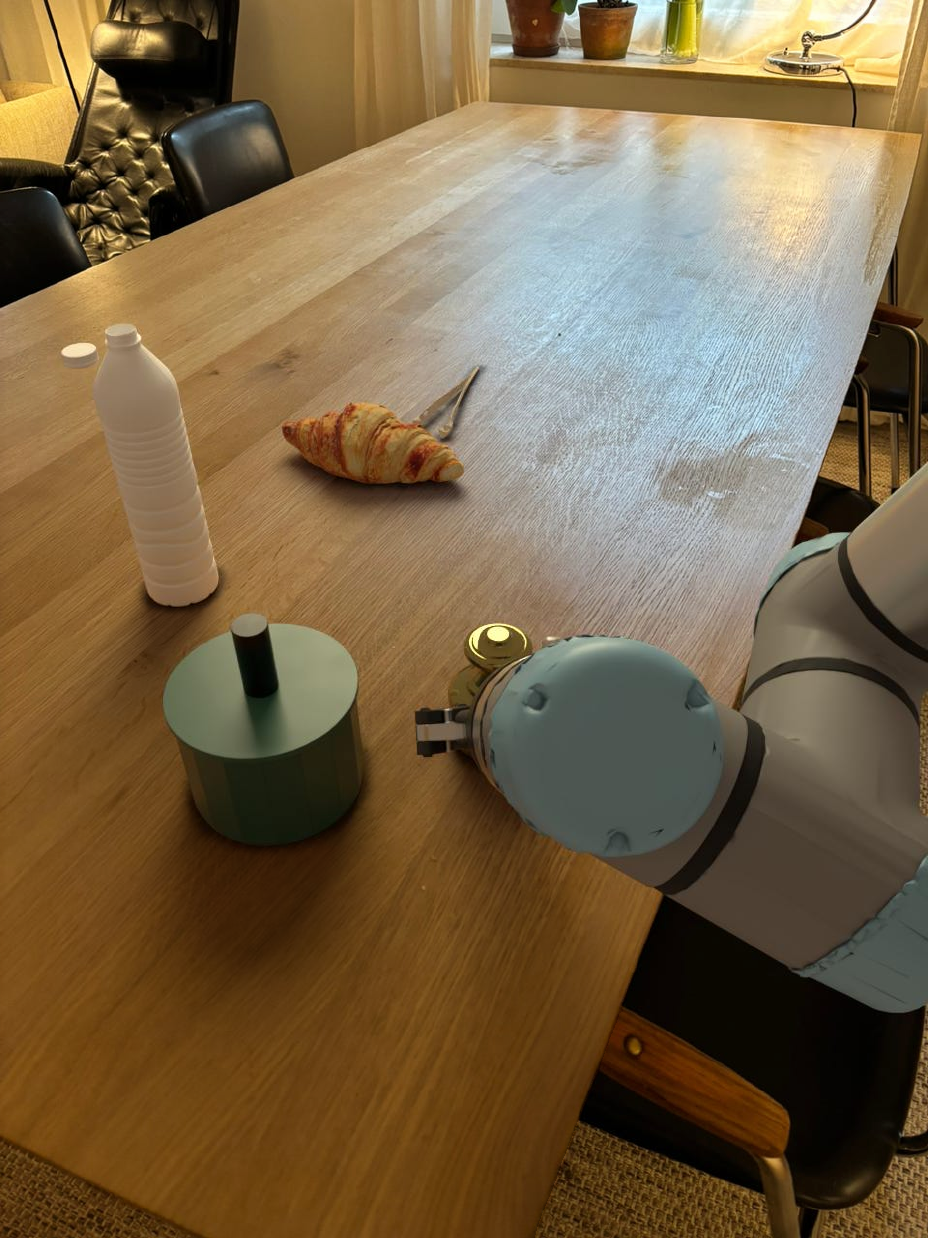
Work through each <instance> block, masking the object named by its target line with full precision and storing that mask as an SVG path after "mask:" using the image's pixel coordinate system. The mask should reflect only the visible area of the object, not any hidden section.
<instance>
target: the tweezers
mask: <svg viewBox="0 0 928 1238" xmlns="http://www.w3.org/2000/svg"><path fill="white" fill-rule="evenodd" d="M479 369H480V366H476V367H475V368H474V369H473V371H471V372H470V373H469V374H468V375H467V376H466V377H465V378H463V379H462V380H461V381H460V382H458V383H457V384H456V385H455V386H453V387H452V388H450V389H449V390H448V391H447V392H445V393H444V394H442V395H441V396H440V397H438V398H436V399H435V400H433V401H432V402H431V403H430V404H429V405H428V406H426V408H425V409H424V410H422V412H420V414H419V415H417V416H416V417H415V418H414V419H413V420H412V424H422V425H423V424H424V423H425V422H426V421H427V420H428V419H429V418H431V417H433V415H434V414H436V413H437V411H438V410H439V409H441V408H442V407H443V406H444V405H445V404H447V403H449V402H450V401H451V400H452V399H454V398H455V397H456V396H457V395H459V397H458V399H457V401H456V404H455V405H454V407H453V409H452V412H451V413H450V414H451V415H450V416H449V421H448V423H446V424H444V426H443V427H439V428H437V431H438V433H439V434H438V435H439V438H441V439H444V438H445V437H446V436H448V434H449V433H450V432H451V431H452V429H453V427H454V419H455V416H456V413H457V410H458V408H459V406H460V404H461V401H462V399H463V397H464V395H465V393H466V391H467V389H468V387H469V385H470V383H472V380H473V379H474V377H475V375H476V374H477V372H478V370H479ZM426 412H427V413H426ZM425 413H426V414H425ZM424 414H425V415H424Z"/></svg>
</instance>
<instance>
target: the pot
mask: <svg viewBox="0 0 928 1238" xmlns="http://www.w3.org/2000/svg"><path fill="white" fill-rule="evenodd" d="M357 699H358V698H357ZM357 699H356V702H355V704H354V707H353V709H352V711H351V713H350V714H349V716H348V717H347V718H346V720H345V721H344V722H343V723H342V725H341V726H340V727H339V728H338V729H337V730H336V731H335V732H333V733H332V734H331V735H330V736H329V737H327V738H326V739H325V740H323V741H322V742H320V743H319V744H317V745H315V746H313V747H311V748H310V749H308V750H306V751H303V752H301V753H298V754H296V755H293V756H290V757H287V758H284V759H280V760H275V761H271V762H264V763H255V764H237V763H226V762H221V761H216V760H213V759H210V758H206V757H203V756H201V755H199V754H197V753H195V752H193V751H191V750H190V749H188V748H187V747H185V746H184V745H183V744H182V743H181V742H180V741H178V740H177V739H176V743H177V746H178V749H179V752H180V756H181V760H182V763H183V766H184V769H185V773H186V777H187V781H188V783H189V787H190V791H191V794H192V797H193V801H194V805H195V807H196V809H197V810H198V812H199V813H200V815H201V817H202V818H203V820H204V821H205V823H206V824H207V825H209V827H211V828H212V829H213V830H214V831H216V832H217V833H219V835H221V836H223V837H225V838H227V839H229V840H232V841H234V842H235V841H236V842H238V843H240V844H241V843H242V844H246V845H251V846H260V847H272V846H281V845H287V844H292V843H298V842H299V841H304V840H306V839H309V838H311V837H314V836H315V835H317V834H319V833H321V832H323V831H324V830H326V829H328V828H330V827H331V826H332V825H334V824H335V823H336V822H338V820H340V819H341V818H342V817H343V816H344V815H345V814H347V811H348V810H349V809H350V808H351V807H352V806H353V804H354V802H355V800H356V799H357V797H358V795H359V792H360V790H361V787H362V783H363V779H364V778H363V777H364V767H365V761H364V752H363V744H362V735H361V734H362V733H361V726H360V716H359V708H358V701H357Z"/></svg>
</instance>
